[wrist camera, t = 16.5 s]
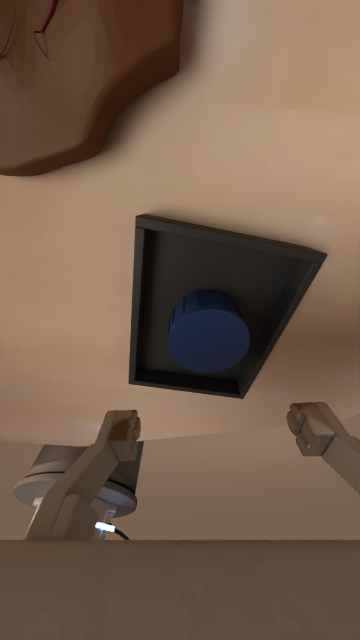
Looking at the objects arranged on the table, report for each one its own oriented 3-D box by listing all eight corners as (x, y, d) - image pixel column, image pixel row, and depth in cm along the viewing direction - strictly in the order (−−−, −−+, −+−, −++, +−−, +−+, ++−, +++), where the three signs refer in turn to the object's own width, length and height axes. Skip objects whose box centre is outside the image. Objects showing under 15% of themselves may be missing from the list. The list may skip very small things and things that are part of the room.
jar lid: (242, 286, 15) (255, 305, 12) (236, 345, 18) (246, 371, 15) (166, 291, 15) (162, 311, 12) (173, 349, 19) (172, 374, 16)
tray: (238, 381, 22) (243, 399, 20) (133, 367, 21) (128, 384, 19) (308, 247, 14) (328, 254, 12) (142, 213, 13) (135, 215, 11)
